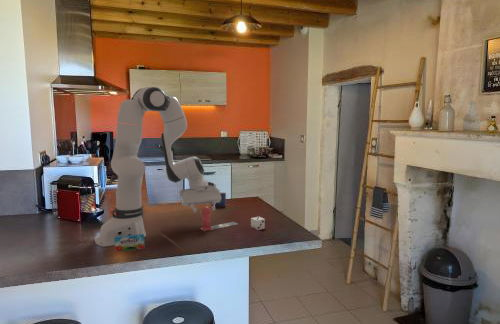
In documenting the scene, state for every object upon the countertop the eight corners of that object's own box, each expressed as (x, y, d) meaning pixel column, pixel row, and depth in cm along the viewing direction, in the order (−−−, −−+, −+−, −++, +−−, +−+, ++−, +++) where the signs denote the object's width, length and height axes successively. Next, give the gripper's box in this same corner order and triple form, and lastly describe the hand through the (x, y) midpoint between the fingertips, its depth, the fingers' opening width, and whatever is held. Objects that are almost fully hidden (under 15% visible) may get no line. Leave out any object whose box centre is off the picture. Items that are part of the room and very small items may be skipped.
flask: (226, 206, 222) (226, 189, 221) (225, 207, 219) (225, 190, 218) (211, 205, 223) (211, 189, 221) (210, 207, 220) (210, 190, 218)
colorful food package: (114, 252, 148) (114, 237, 147) (115, 250, 149) (114, 236, 148) (144, 248, 152) (144, 235, 151) (144, 247, 153) (144, 233, 152)
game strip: (206, 235, 168) (206, 233, 168) (194, 228, 178) (194, 227, 178) (244, 227, 181) (244, 225, 181) (231, 221, 190) (231, 219, 190)
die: (256, 230, 176) (256, 220, 175) (250, 227, 180) (250, 217, 179) (264, 228, 179) (264, 218, 178) (258, 225, 183) (258, 216, 182)
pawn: (204, 231, 172) (204, 208, 170) (200, 228, 175) (199, 206, 174) (212, 229, 174) (212, 206, 173) (208, 226, 178) (208, 204, 176)
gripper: (179, 186, 177) (185, 210, 169) (218, 182, 186) (225, 205, 178) (177, 193, 181) (183, 216, 174) (215, 189, 190) (222, 211, 183)
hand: (204, 210), depth 176 cm, fingers open, 8 cm apart
